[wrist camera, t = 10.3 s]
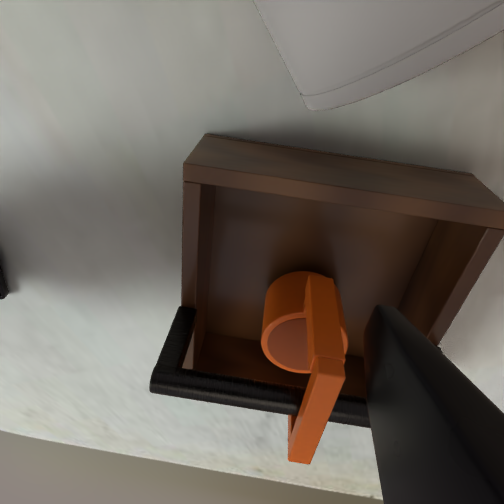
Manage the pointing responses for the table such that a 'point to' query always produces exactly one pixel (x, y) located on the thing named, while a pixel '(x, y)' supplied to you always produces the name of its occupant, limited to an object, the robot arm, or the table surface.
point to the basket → (324, 245)
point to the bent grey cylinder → (371, 41)
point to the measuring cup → (307, 350)
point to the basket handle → (236, 382)
